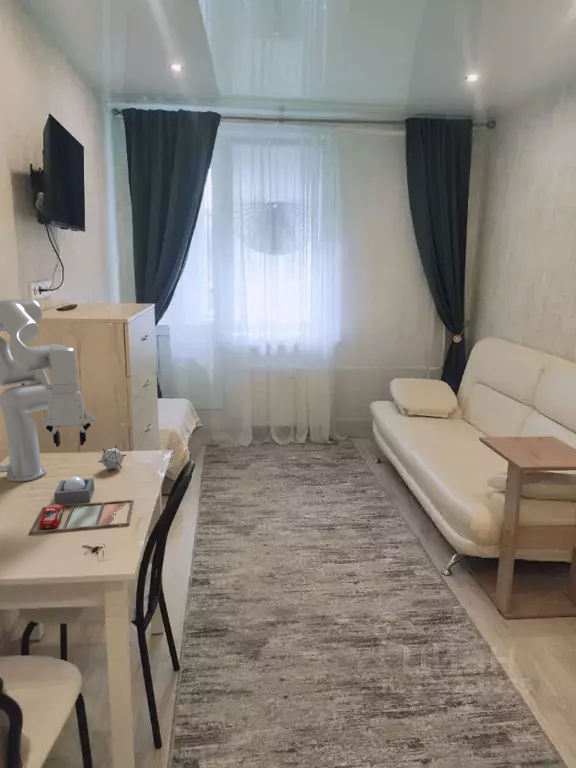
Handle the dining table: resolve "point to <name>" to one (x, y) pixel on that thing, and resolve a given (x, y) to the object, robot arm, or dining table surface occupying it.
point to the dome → (74, 484)
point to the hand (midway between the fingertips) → (70, 444)
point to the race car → (51, 516)
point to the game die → (112, 458)
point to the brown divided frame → (88, 516)
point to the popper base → (74, 493)
